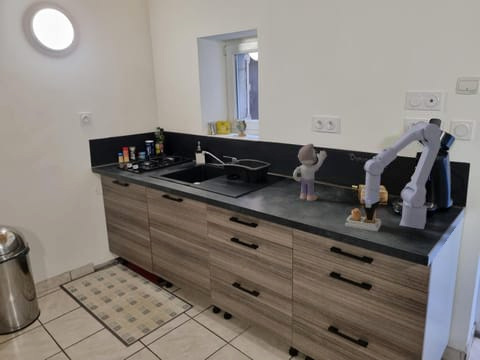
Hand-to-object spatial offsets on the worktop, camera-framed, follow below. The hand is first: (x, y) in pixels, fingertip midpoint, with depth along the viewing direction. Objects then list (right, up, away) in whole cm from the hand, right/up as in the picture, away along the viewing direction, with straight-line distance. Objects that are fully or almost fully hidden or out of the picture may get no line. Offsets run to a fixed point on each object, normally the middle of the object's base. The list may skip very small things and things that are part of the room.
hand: (370, 218), depth 157 cm
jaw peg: (0, -2, +1) cm, 2 cm away
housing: (-2, -3, +3) cm, 5 cm away
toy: (-18, +6, +40) cm, 44 cm away
